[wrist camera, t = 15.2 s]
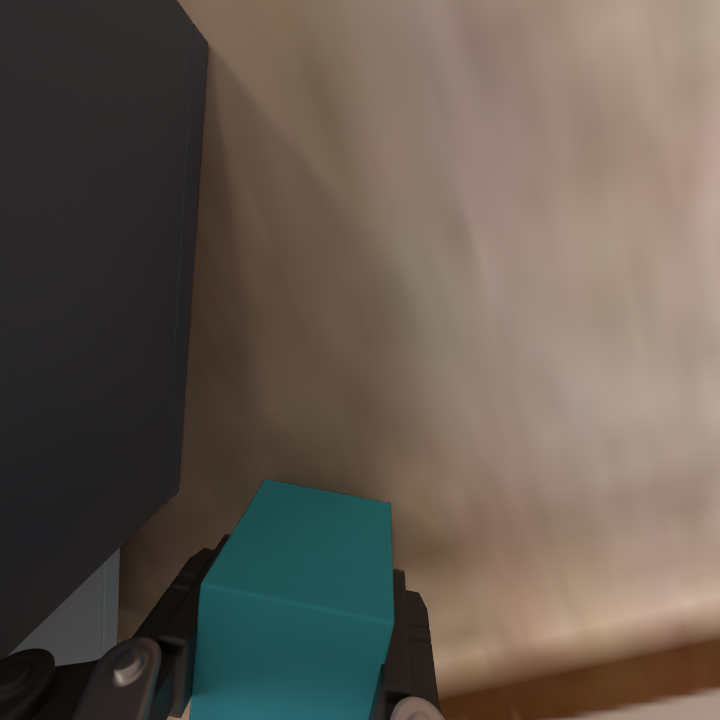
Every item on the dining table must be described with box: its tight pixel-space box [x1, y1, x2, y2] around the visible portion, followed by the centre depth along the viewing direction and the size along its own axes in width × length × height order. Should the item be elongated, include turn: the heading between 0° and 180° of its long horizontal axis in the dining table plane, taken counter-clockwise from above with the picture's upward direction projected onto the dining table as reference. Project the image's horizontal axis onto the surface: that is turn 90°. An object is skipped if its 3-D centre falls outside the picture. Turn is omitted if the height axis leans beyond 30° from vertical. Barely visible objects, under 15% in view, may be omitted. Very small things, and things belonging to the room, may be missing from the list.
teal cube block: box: [189, 479, 394, 720], centre depth 11 cm, size 4×4×4 cm
